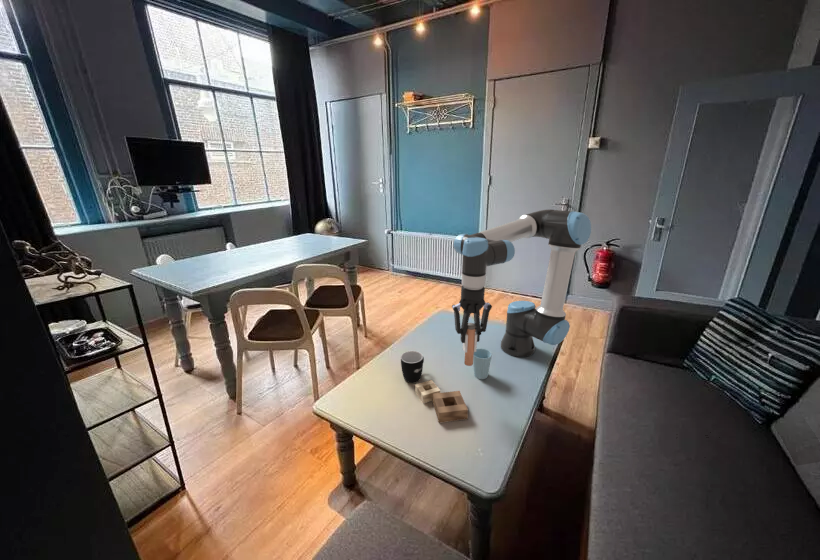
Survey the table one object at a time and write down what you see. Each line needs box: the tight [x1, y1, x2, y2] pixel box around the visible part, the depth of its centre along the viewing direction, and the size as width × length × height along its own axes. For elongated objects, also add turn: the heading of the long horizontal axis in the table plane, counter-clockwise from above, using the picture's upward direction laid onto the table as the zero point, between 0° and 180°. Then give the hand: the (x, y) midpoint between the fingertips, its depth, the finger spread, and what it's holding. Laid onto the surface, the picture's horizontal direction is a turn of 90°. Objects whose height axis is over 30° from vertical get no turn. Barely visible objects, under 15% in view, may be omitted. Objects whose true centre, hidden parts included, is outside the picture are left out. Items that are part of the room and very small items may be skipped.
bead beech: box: [414, 379, 441, 404], centre depth 122 cm, size 7×7×4 cm
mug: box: [400, 350, 425, 384], centre depth 133 cm, size 12×9×10 cm
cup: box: [472, 347, 493, 380], centre depth 132 cm, size 8×8×10 cm
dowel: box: [464, 322, 476, 367], centre depth 112 cm, size 3×3×15 cm
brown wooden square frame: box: [432, 390, 469, 423], centre depth 114 cm, size 10×10×4 cm
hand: (469, 349), depth 113 cm, fingers closed on dowel, 2 cm apart
